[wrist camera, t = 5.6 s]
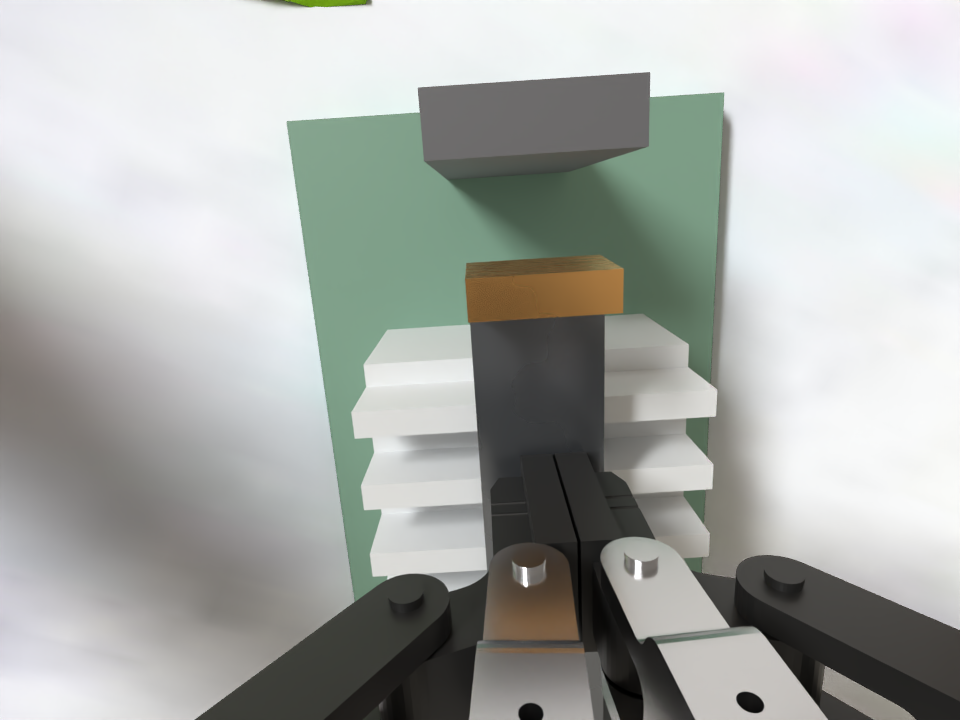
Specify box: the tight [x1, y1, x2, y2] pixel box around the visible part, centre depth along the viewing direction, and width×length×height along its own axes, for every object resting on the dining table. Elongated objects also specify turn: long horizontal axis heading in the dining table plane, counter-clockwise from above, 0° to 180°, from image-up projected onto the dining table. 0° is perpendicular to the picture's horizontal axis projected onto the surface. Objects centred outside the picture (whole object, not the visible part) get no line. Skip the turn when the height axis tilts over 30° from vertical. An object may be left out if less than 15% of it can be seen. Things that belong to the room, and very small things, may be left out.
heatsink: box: [287, 72, 724, 720], centre depth 18 cm, size 14×25×10 cm, turn 4°
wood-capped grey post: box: [465, 255, 624, 720], centre depth 14 cm, size 19×3×2 cm, turn 4°
